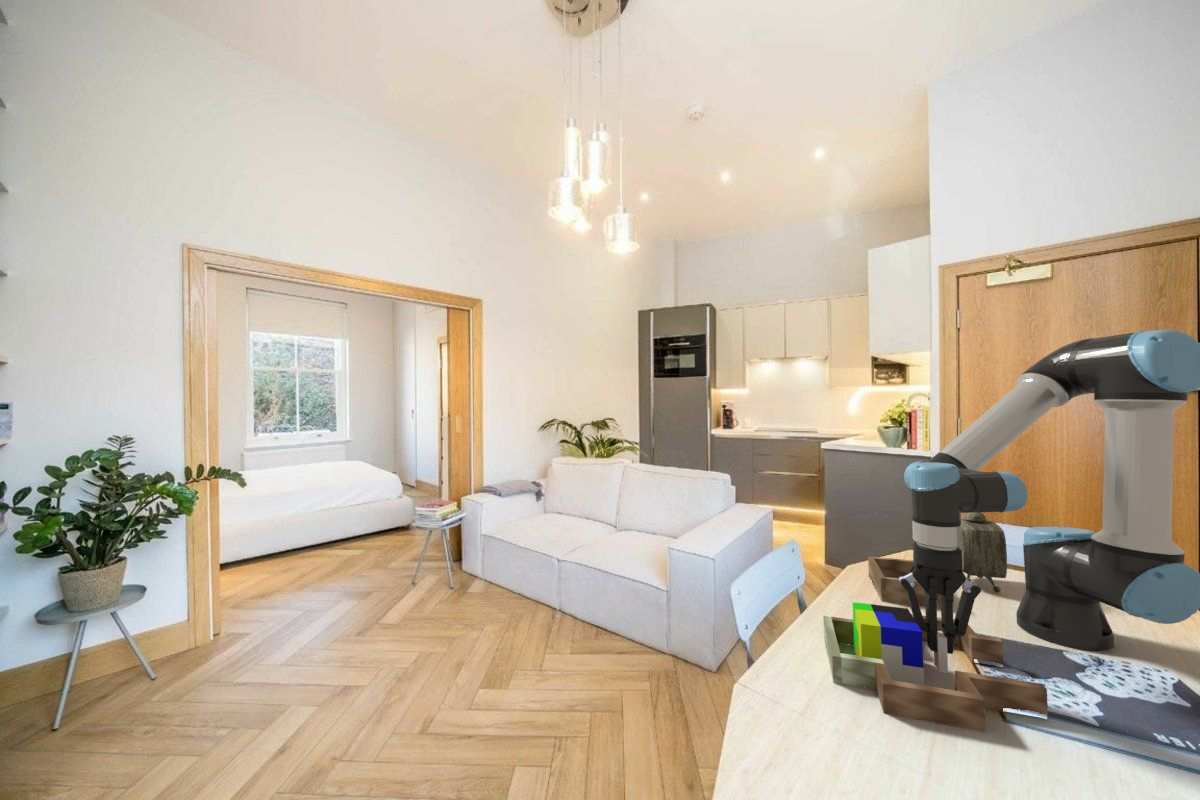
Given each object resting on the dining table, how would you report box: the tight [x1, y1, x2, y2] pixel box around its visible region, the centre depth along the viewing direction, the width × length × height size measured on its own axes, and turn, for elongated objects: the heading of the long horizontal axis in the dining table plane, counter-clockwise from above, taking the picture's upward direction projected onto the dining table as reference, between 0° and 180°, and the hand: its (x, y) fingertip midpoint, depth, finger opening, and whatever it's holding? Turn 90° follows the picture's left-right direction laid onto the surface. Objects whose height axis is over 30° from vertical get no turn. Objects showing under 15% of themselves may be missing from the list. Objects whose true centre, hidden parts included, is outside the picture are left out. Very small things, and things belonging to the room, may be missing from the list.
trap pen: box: [823, 613, 1049, 733], centre depth 88 cm, size 32×30×5 cm
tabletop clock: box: [959, 512, 1008, 594], centre depth 128 cm, size 14×9×25 cm, turn 159°
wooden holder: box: [867, 556, 941, 609], centre depth 124 cm, size 13×17×6 cm
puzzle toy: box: [852, 601, 925, 685], centre depth 90 cm, size 10×10×10 cm
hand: (941, 668), depth 86 cm, fingers closed
